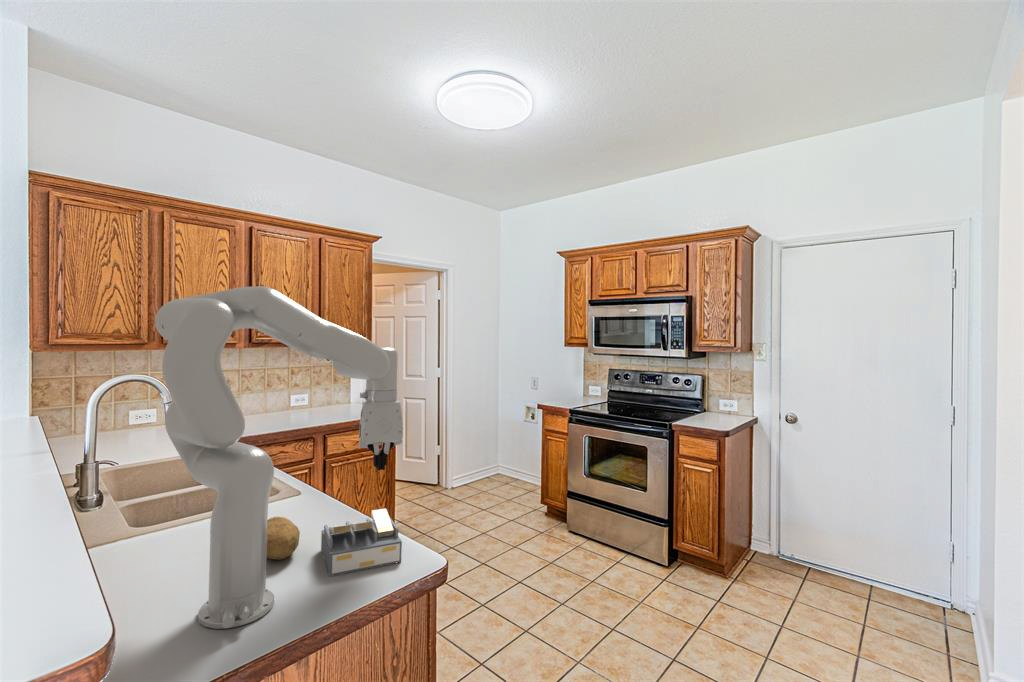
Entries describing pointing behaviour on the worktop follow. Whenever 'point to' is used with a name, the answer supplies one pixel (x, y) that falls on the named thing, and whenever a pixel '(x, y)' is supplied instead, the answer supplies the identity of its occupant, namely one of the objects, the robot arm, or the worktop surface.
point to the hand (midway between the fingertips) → (380, 468)
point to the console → (359, 549)
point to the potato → (281, 538)
